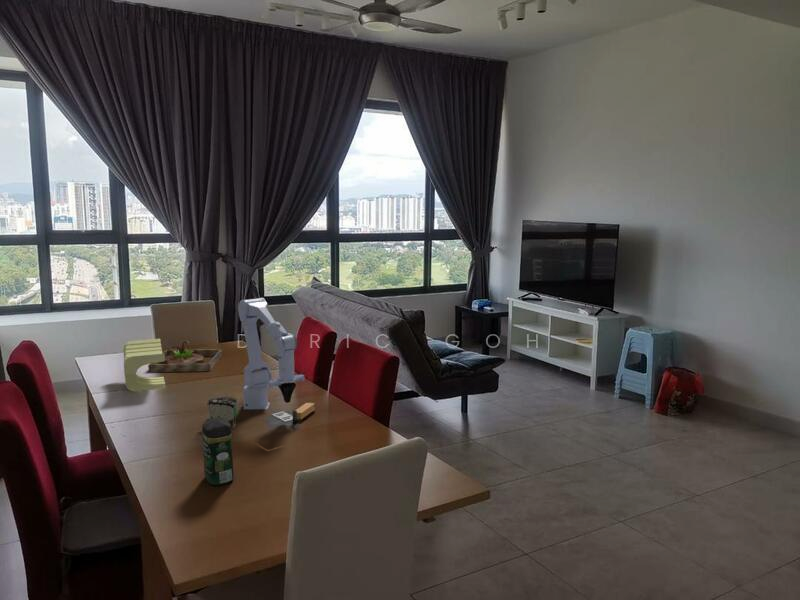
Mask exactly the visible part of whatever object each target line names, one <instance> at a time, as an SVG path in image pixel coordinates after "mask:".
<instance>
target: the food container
mask: <svg viewBox="0 0 800 600" xmlns="http://www.w3.org/2000/svg"><path fill="white" fill-rule="evenodd" d="M206 403H207V405H206V406H208V411H209V417H210V418H215V417H220V418H223V419H225V420H227V421H228V422H229V423H230V425H231V429H232V430H234V428H235V427H236V425H237V413H238V412H237V410H238V408H239V407H240V405H239V402H238V400H237V398H235V397H232V396H217V397H213V398H210V399H208V400H207V402H206ZM210 418H209V419H210Z"/></svg>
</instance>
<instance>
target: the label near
mask: <svg viewBox="0 0 800 600" xmlns="http://www.w3.org/2000/svg"><path fill="white" fill-rule="evenodd" d="M279 419H280V420H282V421H284V422H289V421H293V416H291V415H287V416H283V417H280V418H279Z"/></svg>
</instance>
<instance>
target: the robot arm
mask: <svg viewBox="0 0 800 600" xmlns="http://www.w3.org/2000/svg"><path fill="white" fill-rule="evenodd" d="M268 308H269V307H268V302H267V301H266V299H265V298H264V297H258V298H250V299H241V300H240V301H239V303H238V305H237V309H238V317H239V321H240V322H242V327H243V332H244V337H245V338H244V339H245V345H246V350H247V356H248V364H247V365H246V366H245V367H244V368H243V374H244V375H243V381H244V383H245V385H244V386H243V392H242V393H243V394H242V396H243V397H242V398H243V410H268V409H269V406H270V404H271V402H269V401H268V400H269V399H268V397H269V395H268V394H269V391H268V387H269V388H274V387H278V389H279V390H280V392H281V394H282V397H283V402H284V403H287V404H288V403H291V400H292V396H293V393H294V390H295V389H296V387H297V384H296V383H297V382H299V381H300V382H301V381H305V375H304V374H301V373H300V374H295V350H296V349H297V346H298V341H297V338H296V336H295V335H294V334H292V333H290V332H289V333H288V331H287V330H286V329H285V328H284V326H283V325H282V324H281V322H280V321H275V319H274V318H273V316H272V315H271V313H270V311H269V310H268ZM258 320H261V321H262V323H263V324H264V325H265V326H266V327H267V328H266V332H267V333H268V335H269V336H270V338H272V340H273V341H274V346H275V350H276V355H277V357H278V378H275V379H273V374H272V371H271V369H270V366H269V364H268V362H265V361H264V360H263V356H262V350H261V344H260V338H259V333H258V326H257V321H258ZM272 379H273V380H272ZM295 382H296V383H295Z"/></svg>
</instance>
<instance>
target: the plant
mask: <svg viewBox="0 0 800 600" xmlns="http://www.w3.org/2000/svg"><path fill="white" fill-rule="evenodd" d="M185 344H186V345H189V344H190V342H189V341H188V340H185V341H183V342H182V343H181V348H180V347H179V346H178V345H174V346H171V347H170V350H174V348H177V350H178V352H176V351H173V352H174V353H175V355H174V356H168V357H166V358H165V360H164V362H161V363H160V364H205V356H202V355H197V354H193V353H192V352H193V351H190V352H189V353H188V351H189V350H190V349H187V348H186V347H185Z"/></svg>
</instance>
